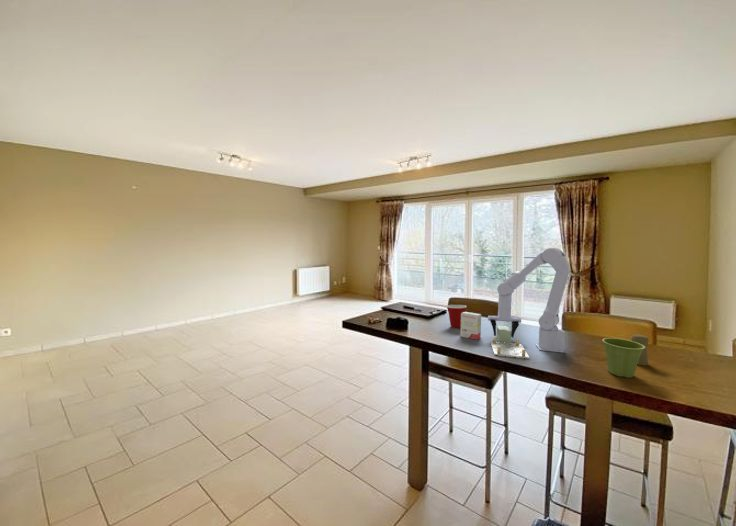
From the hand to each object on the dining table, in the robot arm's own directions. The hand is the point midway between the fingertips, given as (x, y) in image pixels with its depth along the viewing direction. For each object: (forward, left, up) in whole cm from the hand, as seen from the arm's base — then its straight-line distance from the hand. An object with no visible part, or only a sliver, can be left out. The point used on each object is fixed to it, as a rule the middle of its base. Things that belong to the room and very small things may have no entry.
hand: (503, 336), depth 150 cm
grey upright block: (-47, +15, -2) cm, 49 cm away
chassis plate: (0, +16, -2) cm, 16 cm away
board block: (0, 0, -2) cm, 2 cm away
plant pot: (-35, +30, -2) cm, 46 cm away
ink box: (+15, +1, -2) cm, 15 cm away
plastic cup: (+22, -16, -2) cm, 27 cm away
